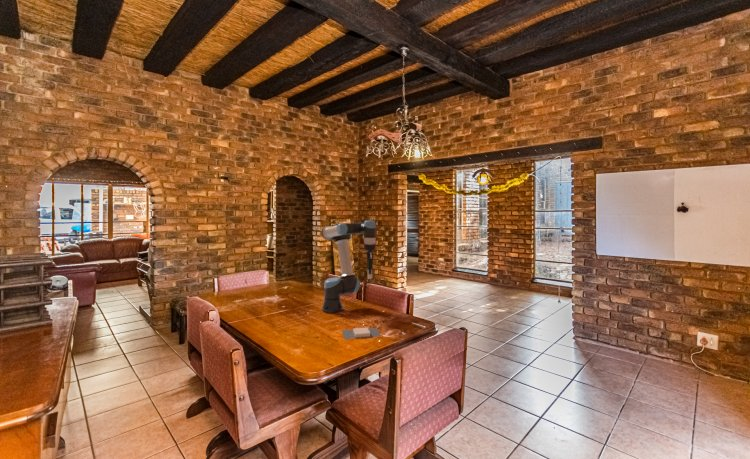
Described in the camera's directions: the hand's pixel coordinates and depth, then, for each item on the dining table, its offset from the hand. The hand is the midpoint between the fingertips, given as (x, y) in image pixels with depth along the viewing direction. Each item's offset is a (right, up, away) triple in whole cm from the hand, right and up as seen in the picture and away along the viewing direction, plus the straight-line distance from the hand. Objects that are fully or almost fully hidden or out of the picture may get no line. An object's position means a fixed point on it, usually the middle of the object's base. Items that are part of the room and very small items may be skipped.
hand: (369, 278), depth 225 cm
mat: (-5, -30, -23) cm, 38 cm away
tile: (-5, -28, -20) cm, 35 cm away
